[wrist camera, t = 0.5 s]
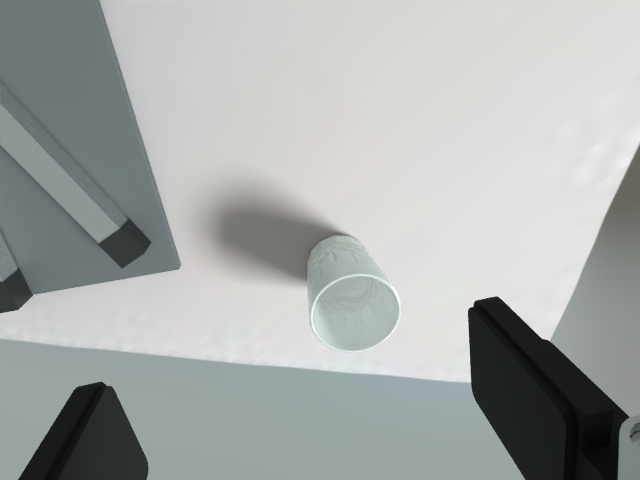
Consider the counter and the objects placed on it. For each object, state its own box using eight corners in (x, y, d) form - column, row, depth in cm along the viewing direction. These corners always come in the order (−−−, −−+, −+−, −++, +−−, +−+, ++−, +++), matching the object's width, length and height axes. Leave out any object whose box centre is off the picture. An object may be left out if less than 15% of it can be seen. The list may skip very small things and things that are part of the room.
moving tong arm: (-133, 27, 31) (-173, 24, 28) (-86, -13, 31) (-123, -21, 28) (112, 269, 41) (100, 284, 38) (151, 242, 40) (142, 256, 37)
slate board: (-180, 5, 31) (-194, 4, 30) (88, -33, 32) (83, -35, 31) (-19, 299, 42) (-26, 304, 41) (181, 264, 43) (179, 269, 42)
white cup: (317, 305, 46) (329, 365, 37) (289, 246, 43) (295, 295, 34) (383, 279, 46) (412, 332, 37) (360, 217, 43) (384, 259, 34)
